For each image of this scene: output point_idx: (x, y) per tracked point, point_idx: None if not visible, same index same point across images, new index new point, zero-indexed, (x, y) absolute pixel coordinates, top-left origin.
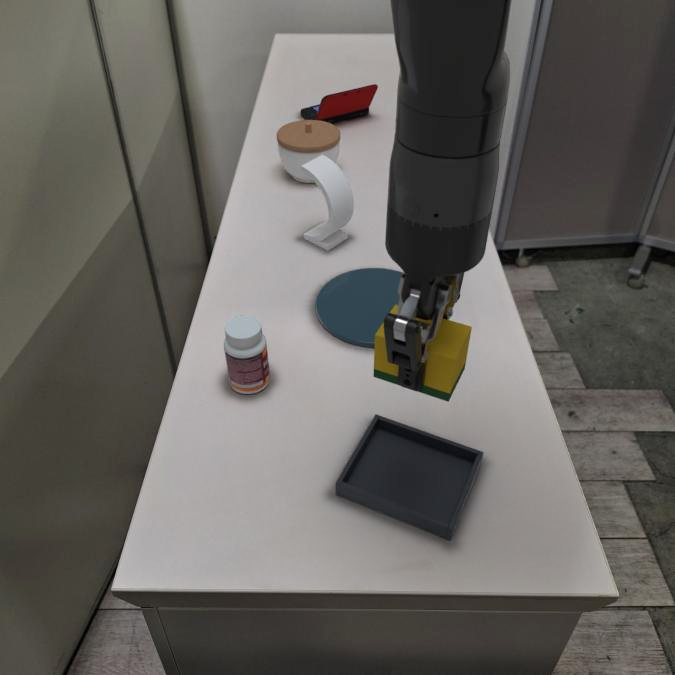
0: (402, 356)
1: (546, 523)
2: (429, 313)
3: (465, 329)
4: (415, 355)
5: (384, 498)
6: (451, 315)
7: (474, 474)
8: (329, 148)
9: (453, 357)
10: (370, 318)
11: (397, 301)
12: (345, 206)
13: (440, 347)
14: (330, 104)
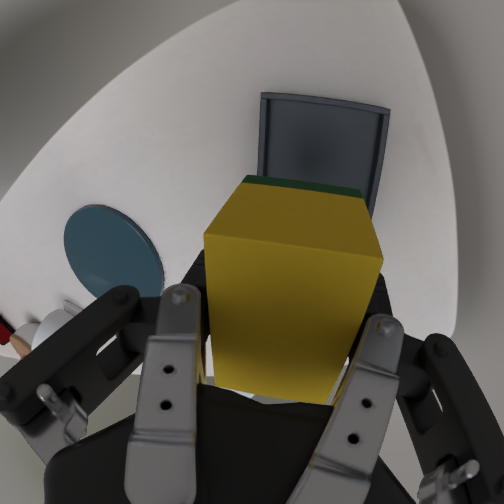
0: (433, 388)
1: (320, 12)
2: (388, 472)
3: (226, 249)
4: (485, 400)
5: (372, 191)
6: (185, 291)
7: (301, 95)
8: (23, 340)
9: (378, 265)
10: (126, 265)
11: (94, 247)
12: (50, 326)
13: (340, 303)
14: (2, 336)
